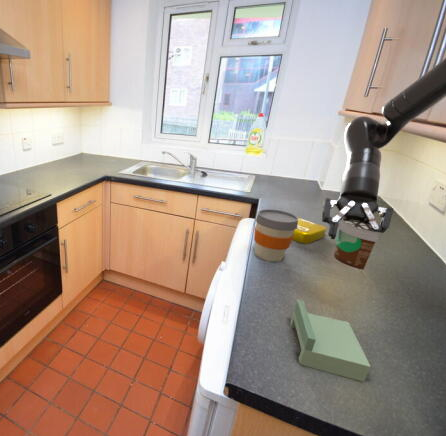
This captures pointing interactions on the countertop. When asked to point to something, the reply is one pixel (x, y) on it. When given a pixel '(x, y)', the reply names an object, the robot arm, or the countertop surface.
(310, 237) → the yellow flat block
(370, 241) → the food container
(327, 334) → the green stand base
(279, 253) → the reusable coffee cup
